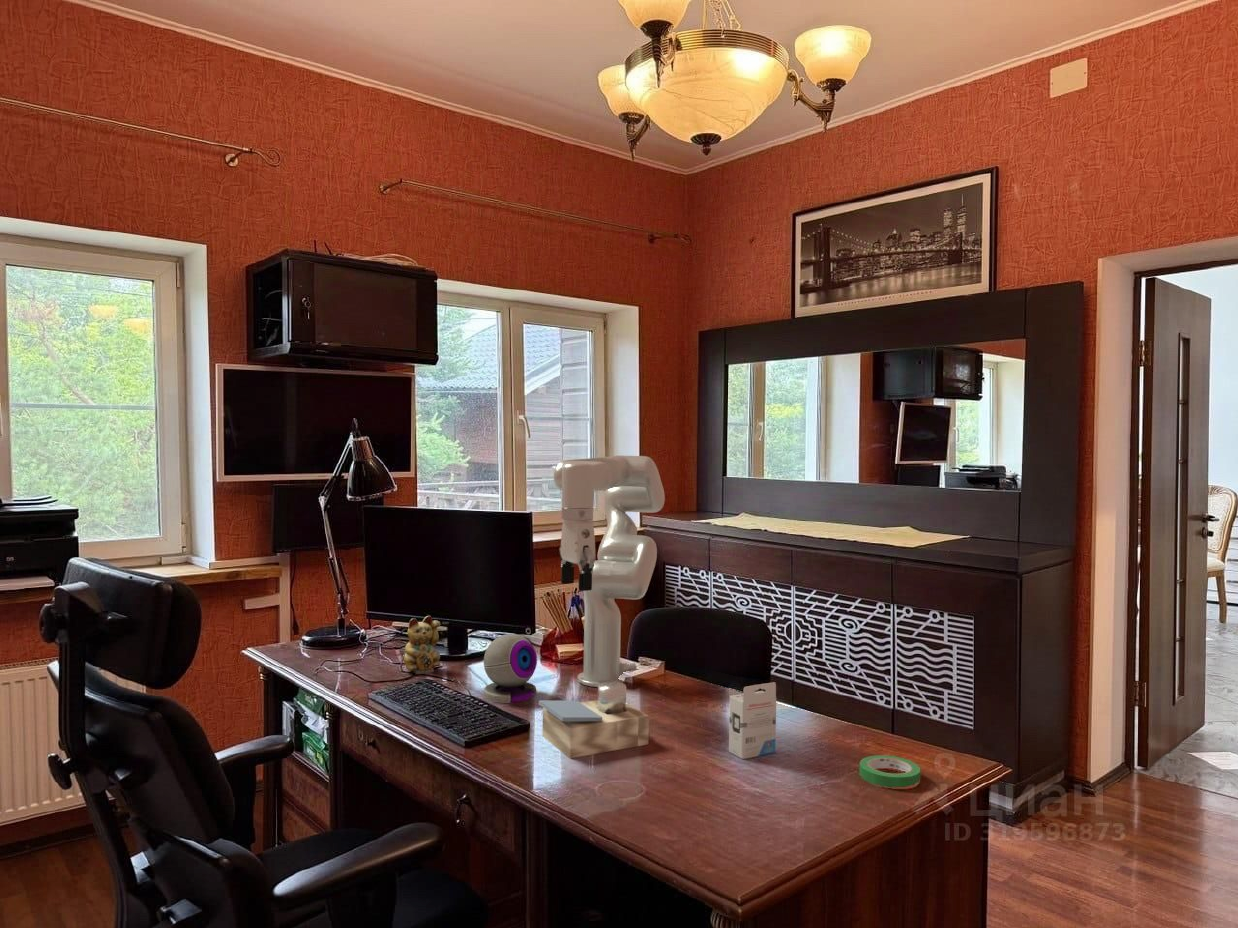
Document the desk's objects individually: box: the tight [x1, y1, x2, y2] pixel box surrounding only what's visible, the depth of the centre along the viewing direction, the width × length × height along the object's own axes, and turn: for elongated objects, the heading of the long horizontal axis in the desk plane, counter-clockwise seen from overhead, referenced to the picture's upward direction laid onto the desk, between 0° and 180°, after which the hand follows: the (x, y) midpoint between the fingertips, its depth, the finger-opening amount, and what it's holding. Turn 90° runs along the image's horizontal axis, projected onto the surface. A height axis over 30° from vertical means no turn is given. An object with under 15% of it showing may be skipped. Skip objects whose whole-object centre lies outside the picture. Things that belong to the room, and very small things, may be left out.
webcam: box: [482, 633, 538, 704], centre depth 210 cm, size 13×13×15 cm
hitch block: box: [541, 699, 650, 759], centre depth 180 cm, size 18×14×6 cm
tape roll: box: [859, 754, 921, 787], centre depth 163 cm, size 11×11×3 cm
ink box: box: [728, 681, 777, 760], centre depth 175 cm, size 9×5×15 cm, turn 117°
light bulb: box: [597, 682, 627, 714], centre depth 182 cm, size 6×6×10 cm
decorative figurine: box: [403, 615, 441, 675], centre depth 230 cm, size 10×8×15 cm
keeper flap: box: [538, 699, 602, 721], centre depth 177 cm, size 9×12×1 cm
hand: (576, 586), depth 202 cm, fingers open, 9 cm apart
